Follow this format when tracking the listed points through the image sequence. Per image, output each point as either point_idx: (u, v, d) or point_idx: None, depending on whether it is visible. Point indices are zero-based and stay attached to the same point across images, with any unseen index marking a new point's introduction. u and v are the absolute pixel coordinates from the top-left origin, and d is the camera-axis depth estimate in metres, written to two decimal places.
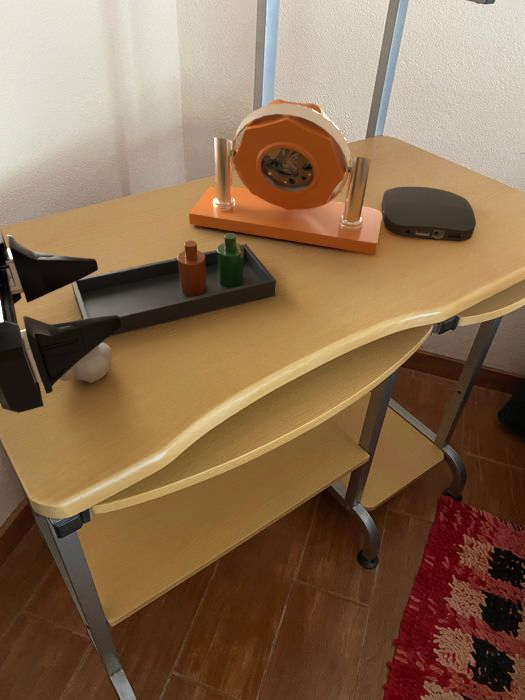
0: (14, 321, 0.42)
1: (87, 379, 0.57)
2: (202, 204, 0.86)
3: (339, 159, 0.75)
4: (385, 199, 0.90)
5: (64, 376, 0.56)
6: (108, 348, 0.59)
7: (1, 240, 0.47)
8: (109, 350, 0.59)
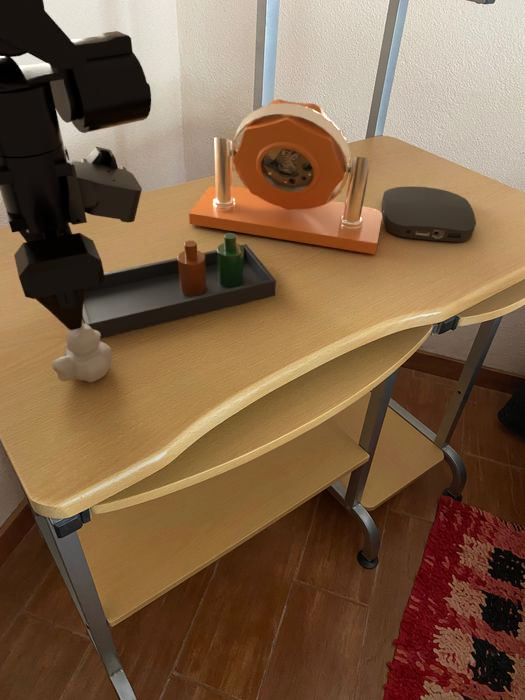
0: None
1: (87, 379, 0.57)
2: (202, 204, 0.86)
3: (339, 159, 0.75)
4: (385, 199, 0.90)
5: (64, 376, 0.56)
6: (108, 348, 0.59)
7: None
8: (109, 350, 0.59)
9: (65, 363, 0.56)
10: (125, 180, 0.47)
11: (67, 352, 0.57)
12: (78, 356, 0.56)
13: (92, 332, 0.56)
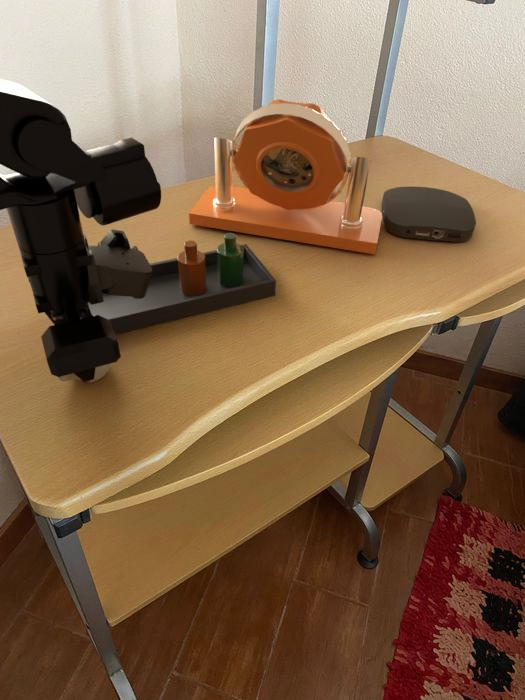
0: None
1: None
2: (202, 204, 0.86)
3: (339, 159, 0.75)
4: (385, 199, 0.90)
5: (64, 376, 0.56)
6: None
7: None
8: None
9: None
10: (137, 262, 0.53)
11: None
12: None
13: None
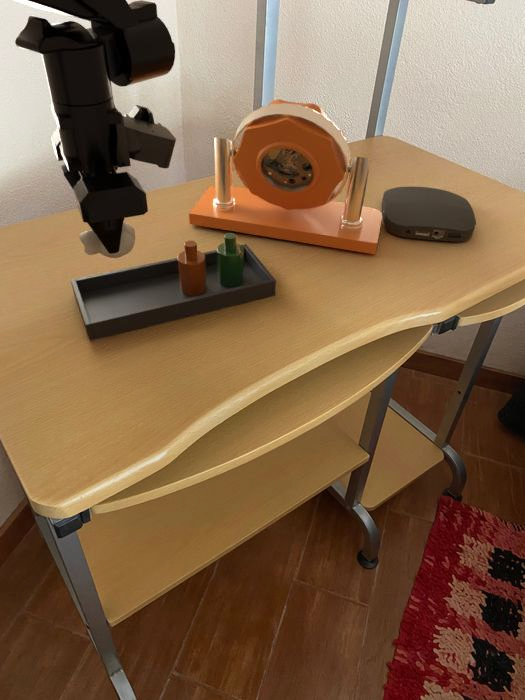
0: None
1: None
2: (202, 204, 0.86)
3: (339, 159, 0.75)
4: (385, 199, 0.90)
5: (90, 249, 0.59)
6: (132, 227, 0.61)
7: None
8: (133, 229, 0.61)
9: (92, 235, 0.58)
10: (162, 132, 0.55)
11: None
12: None
13: None
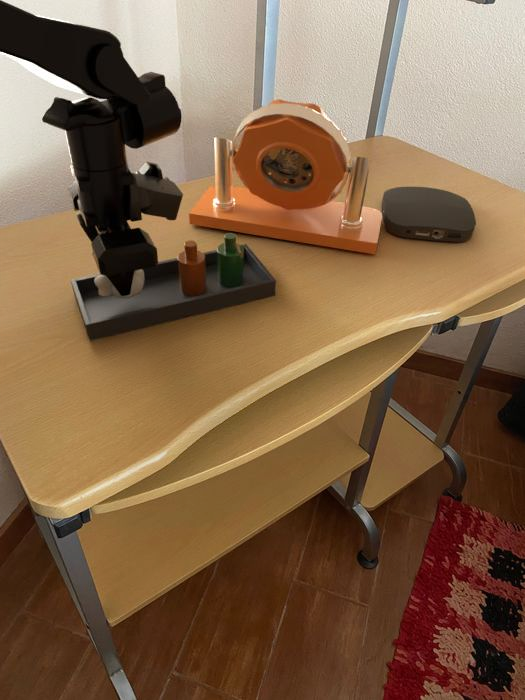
0: None
1: None
2: (202, 204, 0.86)
3: (339, 159, 0.75)
4: (385, 199, 0.90)
5: (104, 291, 0.65)
6: (141, 270, 0.67)
7: None
8: (142, 272, 0.67)
9: (105, 279, 0.64)
10: (170, 188, 0.61)
11: None
12: None
13: None
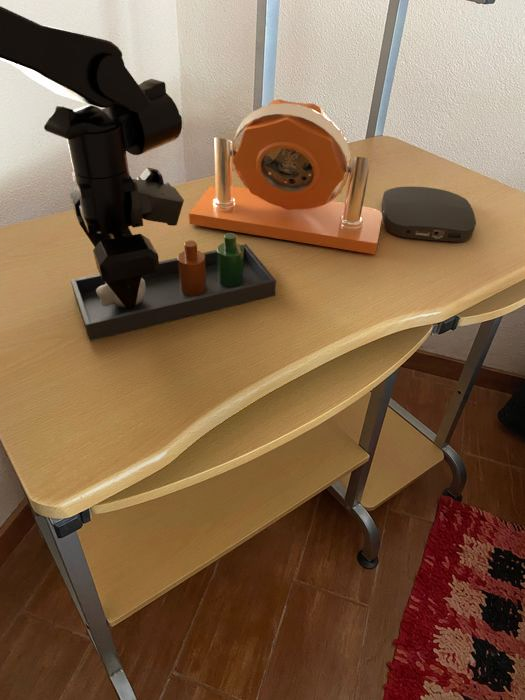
0: None
1: None
2: (202, 204, 0.86)
3: (339, 159, 0.75)
4: (385, 199, 0.90)
5: (106, 301, 0.66)
6: (142, 279, 0.68)
7: None
8: (143, 281, 0.68)
9: (107, 289, 0.65)
10: (171, 193, 0.61)
11: None
12: None
13: None
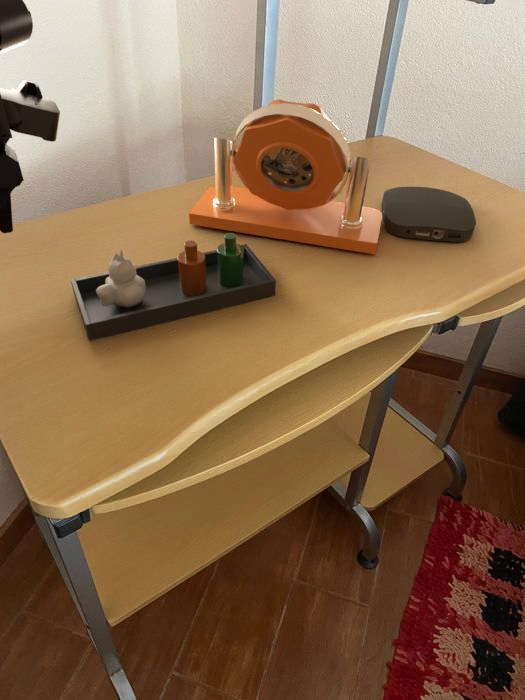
0: None
1: (125, 304, 0.66)
2: (202, 204, 0.86)
3: (339, 159, 0.75)
4: (385, 199, 0.90)
5: (106, 301, 0.66)
6: (142, 279, 0.68)
7: None
8: (143, 281, 0.68)
9: (107, 289, 0.65)
10: (46, 105, 0.57)
11: (108, 281, 0.66)
12: (118, 284, 0.66)
13: (130, 263, 0.65)
